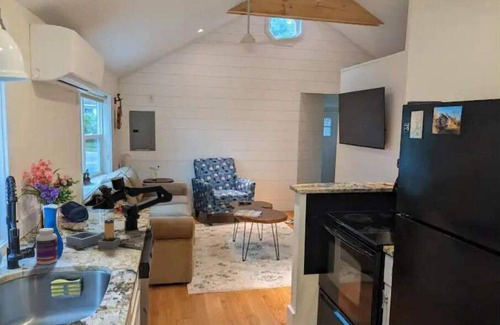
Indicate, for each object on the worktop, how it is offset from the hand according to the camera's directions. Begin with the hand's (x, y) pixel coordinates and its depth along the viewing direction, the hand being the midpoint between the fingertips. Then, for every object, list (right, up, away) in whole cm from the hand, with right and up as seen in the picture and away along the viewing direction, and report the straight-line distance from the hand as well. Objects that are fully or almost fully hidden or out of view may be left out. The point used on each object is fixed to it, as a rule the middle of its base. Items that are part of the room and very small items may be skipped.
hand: (88, 206), depth 198 cm
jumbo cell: (+16, -18, -13) cm, 27 cm away
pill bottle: (-2, -20, -37) cm, 42 cm away
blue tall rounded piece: (-22, -15, +7) cm, 28 cm away
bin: (+2, -17, -9) cm, 20 cm away
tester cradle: (+16, -18, -13) cm, 27 cm away
